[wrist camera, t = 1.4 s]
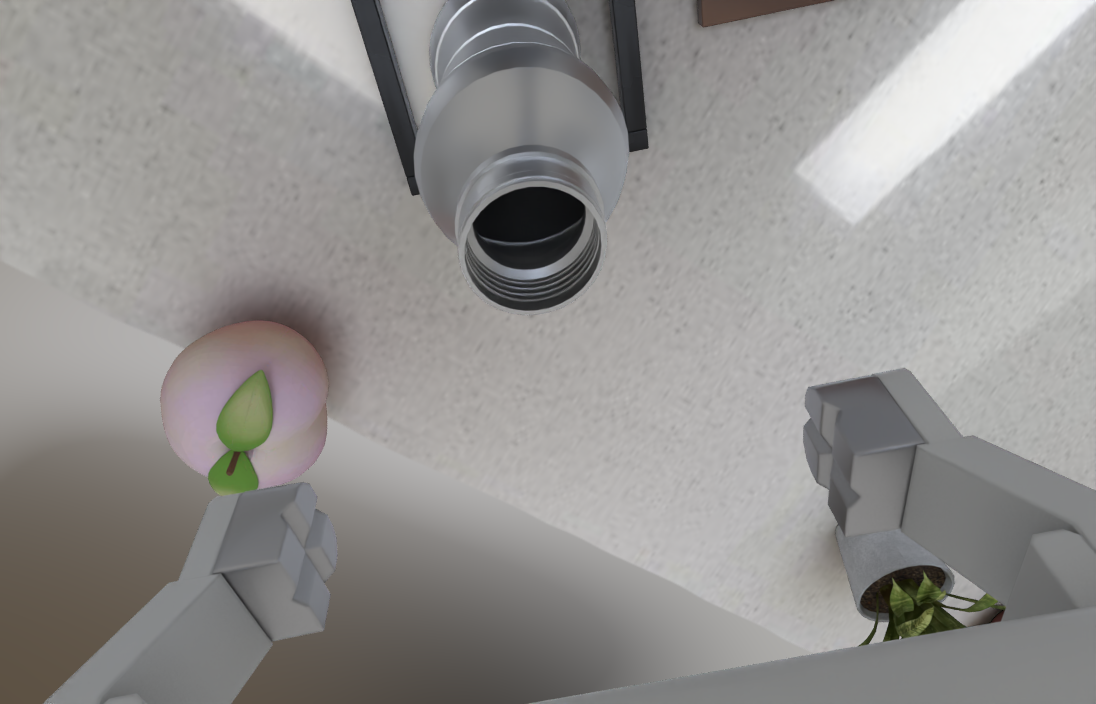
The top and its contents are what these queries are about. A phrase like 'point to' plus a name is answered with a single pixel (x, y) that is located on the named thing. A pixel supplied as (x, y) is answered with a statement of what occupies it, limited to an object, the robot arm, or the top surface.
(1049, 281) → the top surface
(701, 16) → the trivet
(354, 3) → the black flat square frame
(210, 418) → the decorative fruit
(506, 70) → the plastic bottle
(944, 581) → the house plant
